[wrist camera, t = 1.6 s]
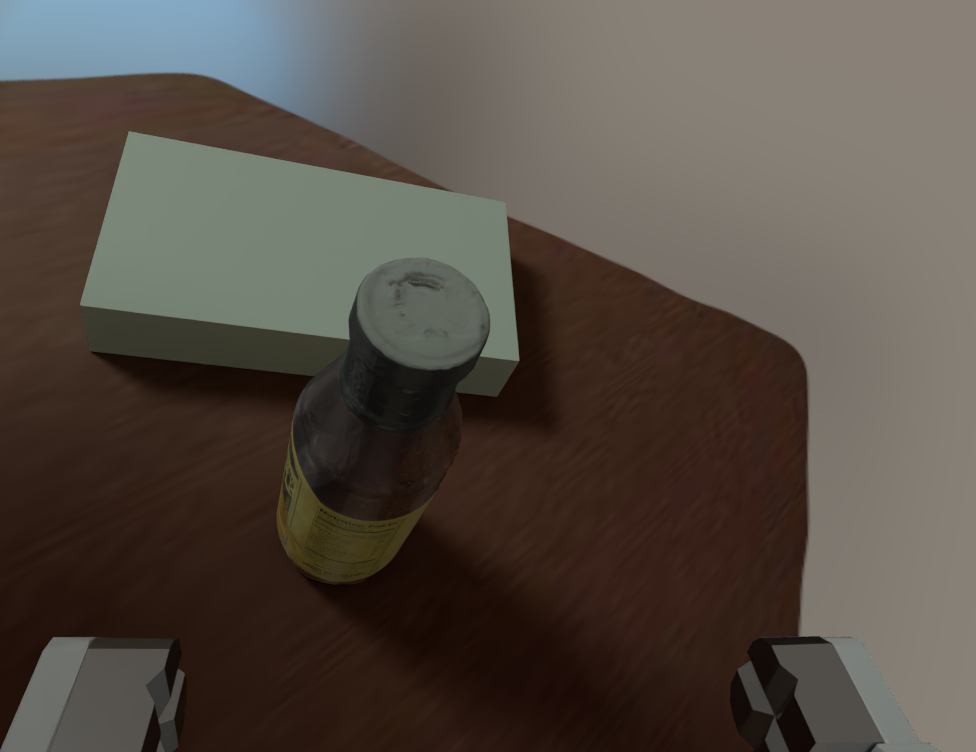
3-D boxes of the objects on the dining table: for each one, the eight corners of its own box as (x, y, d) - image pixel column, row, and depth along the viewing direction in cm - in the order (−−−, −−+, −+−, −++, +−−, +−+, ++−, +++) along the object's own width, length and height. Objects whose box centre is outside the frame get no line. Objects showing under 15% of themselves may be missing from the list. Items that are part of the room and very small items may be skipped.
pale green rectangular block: (89, 351, 39) (79, 305, 36) (134, 183, 45) (129, 131, 42) (496, 396, 45) (519, 361, 42) (486, 243, 52) (505, 202, 48)
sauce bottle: (319, 452, 40) (395, 180, 24) (421, 514, 40) (565, 282, 24) (242, 555, 36) (273, 311, 20) (355, 623, 36) (475, 433, 20)
